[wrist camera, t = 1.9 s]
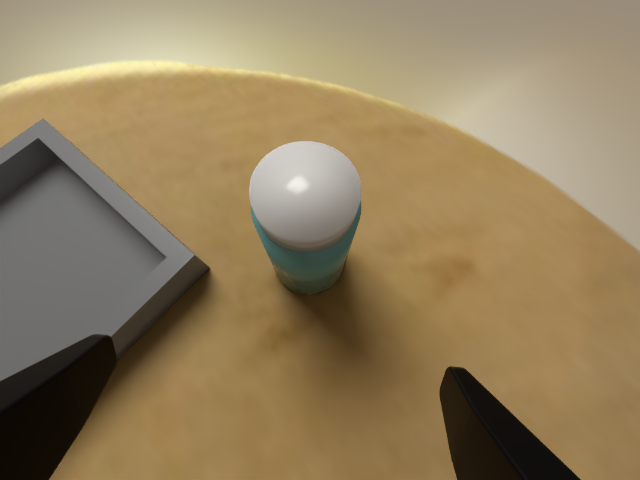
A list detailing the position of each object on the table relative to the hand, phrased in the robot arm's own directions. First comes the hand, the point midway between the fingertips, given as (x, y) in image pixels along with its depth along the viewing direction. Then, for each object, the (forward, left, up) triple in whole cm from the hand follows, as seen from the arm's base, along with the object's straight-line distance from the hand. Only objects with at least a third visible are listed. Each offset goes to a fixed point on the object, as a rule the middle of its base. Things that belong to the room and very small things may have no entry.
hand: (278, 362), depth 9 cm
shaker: (+5, +4, -13) cm, 15 cm away
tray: (-8, +17, -13) cm, 22 cm away
